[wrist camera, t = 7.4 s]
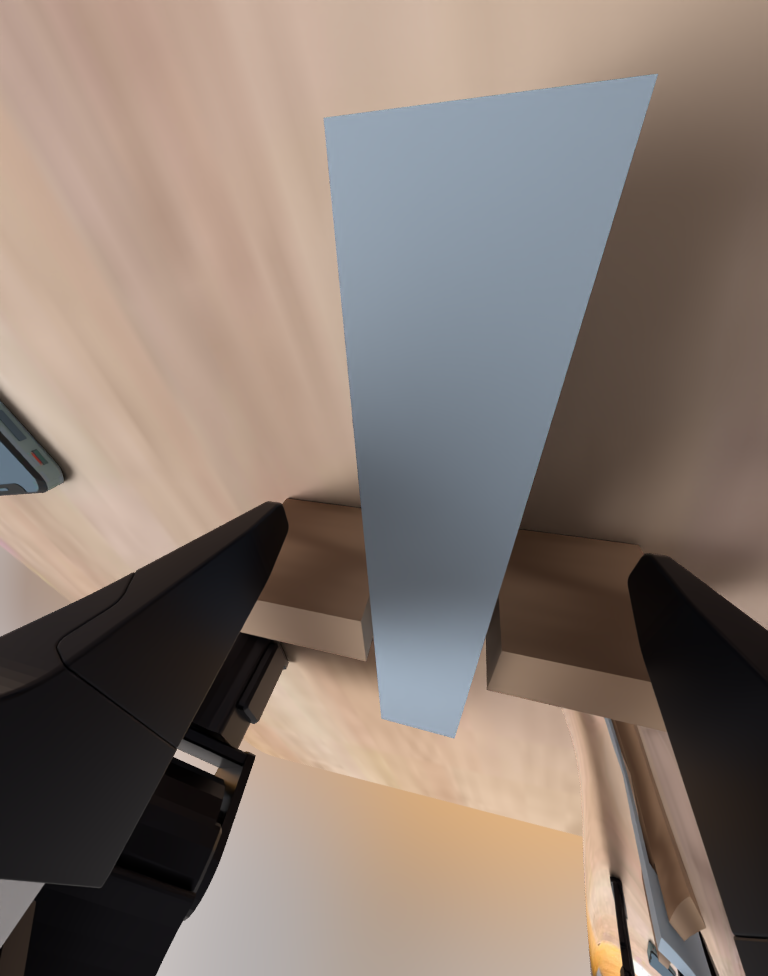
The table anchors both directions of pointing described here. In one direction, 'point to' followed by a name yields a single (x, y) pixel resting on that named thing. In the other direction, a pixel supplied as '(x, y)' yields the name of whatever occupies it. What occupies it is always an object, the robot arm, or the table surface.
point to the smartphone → (24, 460)
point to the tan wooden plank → (514, 623)
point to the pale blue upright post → (463, 345)
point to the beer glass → (644, 858)
